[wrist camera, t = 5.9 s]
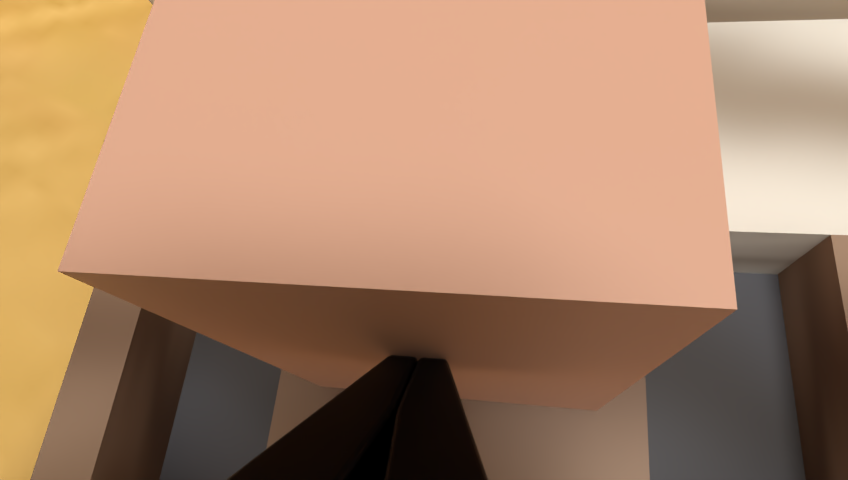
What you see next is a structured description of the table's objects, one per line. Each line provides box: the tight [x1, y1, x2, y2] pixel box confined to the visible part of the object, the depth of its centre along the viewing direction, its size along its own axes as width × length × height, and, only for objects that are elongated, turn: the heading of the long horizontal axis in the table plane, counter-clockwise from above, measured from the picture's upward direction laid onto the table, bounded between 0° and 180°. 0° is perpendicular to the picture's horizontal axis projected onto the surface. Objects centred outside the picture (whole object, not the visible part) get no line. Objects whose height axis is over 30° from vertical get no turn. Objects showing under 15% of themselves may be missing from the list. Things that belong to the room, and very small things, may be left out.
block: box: [58, 0, 737, 411], centre depth 10 cm, size 7×6×8 cm
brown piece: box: [31, 0, 848, 480], centre depth 12 cm, size 25×19×6 cm
